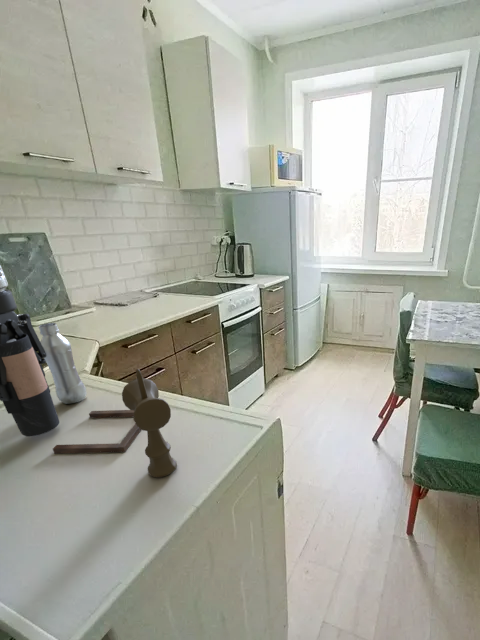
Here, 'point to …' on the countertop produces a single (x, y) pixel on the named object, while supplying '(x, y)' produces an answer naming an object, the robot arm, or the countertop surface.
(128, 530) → the countertop surface
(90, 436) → the countertop surface
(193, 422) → the countertop surface
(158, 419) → the kendama
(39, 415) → the travel mug
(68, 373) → the plastic bottle
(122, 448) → the frame
